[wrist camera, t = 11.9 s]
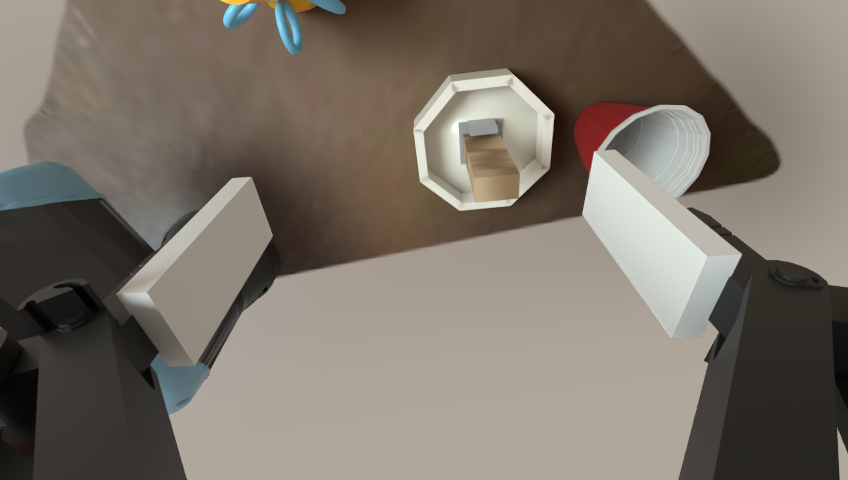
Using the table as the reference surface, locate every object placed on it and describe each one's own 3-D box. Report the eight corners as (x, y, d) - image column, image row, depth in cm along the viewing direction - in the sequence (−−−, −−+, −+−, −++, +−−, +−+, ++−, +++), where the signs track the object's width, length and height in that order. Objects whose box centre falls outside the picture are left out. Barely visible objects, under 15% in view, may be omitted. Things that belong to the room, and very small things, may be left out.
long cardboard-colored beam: (463, 154, 44) (475, 202, 34) (462, 134, 43) (474, 178, 33) (497, 151, 44) (518, 198, 34) (497, 130, 43) (519, 173, 33)
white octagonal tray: (424, 200, 49) (424, 215, 46) (409, 79, 41) (408, 87, 37) (539, 189, 48) (547, 203, 45) (548, 63, 40) (559, 69, 37)
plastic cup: (639, 162, 46) (699, 210, 36) (550, 175, 47) (585, 225, 37) (656, 68, 40) (733, 95, 30) (554, 85, 41) (596, 116, 31)
